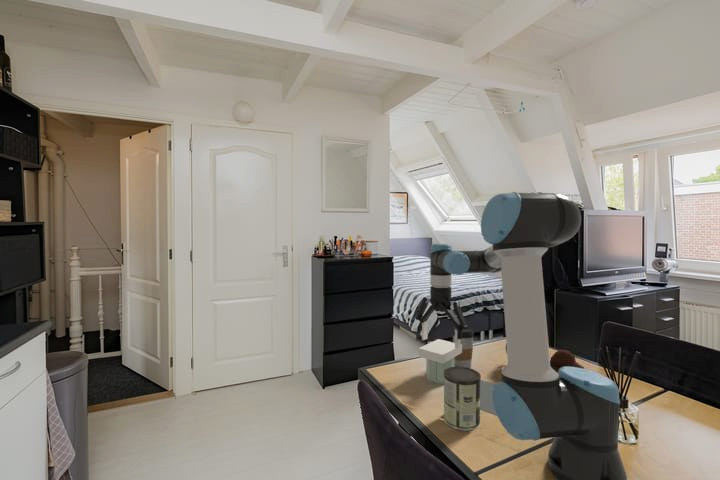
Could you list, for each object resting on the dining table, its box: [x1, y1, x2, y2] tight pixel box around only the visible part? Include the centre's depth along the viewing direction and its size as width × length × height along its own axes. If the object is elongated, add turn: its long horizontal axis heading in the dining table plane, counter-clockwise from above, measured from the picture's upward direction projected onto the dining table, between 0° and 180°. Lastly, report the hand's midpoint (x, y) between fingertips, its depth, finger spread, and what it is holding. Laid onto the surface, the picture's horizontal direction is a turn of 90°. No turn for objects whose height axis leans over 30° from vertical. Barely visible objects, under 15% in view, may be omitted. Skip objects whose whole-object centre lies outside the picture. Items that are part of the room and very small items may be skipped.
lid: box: [418, 338, 462, 363], centre depth 130 cm, size 14×10×3 cm
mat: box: [480, 379, 498, 417], centre depth 117 cm, size 20×16×1 cm
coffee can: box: [443, 366, 482, 432], centre depth 102 cm, size 10×10×14 cm
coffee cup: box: [452, 326, 475, 368], centre depth 141 cm, size 8×8×15 cm
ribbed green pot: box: [425, 357, 455, 385], centre depth 131 cm, size 10×10×9 cm
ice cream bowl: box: [550, 349, 585, 372], centre depth 119 cm, size 11×11×15 cm
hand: (440, 343), depth 130 cm, fingers open, 13 cm apart
